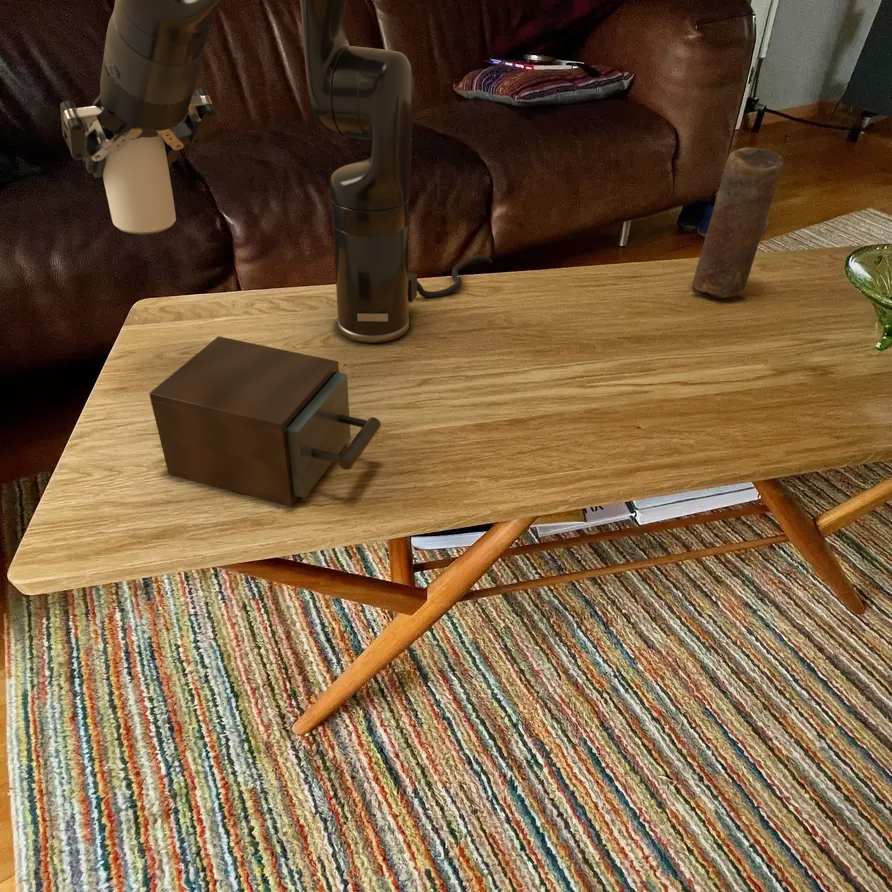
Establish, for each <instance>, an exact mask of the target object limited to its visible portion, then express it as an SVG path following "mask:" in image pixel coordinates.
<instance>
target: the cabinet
mask: <svg viewBox="0 0 892 892" xmlns="http://www.w3.org/2000/svg"><path fill="white" fill-rule="evenodd" d="M339 369H340V368H339V361H338V360H335V359H329V358H325V357H319V356H316V355H315V356H314V355H310V354H305V353H301V352H295V351H291V350H286V349H281V348H277V347H271V346H267V345H261V344H257V343H252V342H247V341H244V340H239V339H233V338H230V337H229V338H228V337H223V336H216V337H215V338H214V339H213V340H212V341H211V342H209V343H208V344H207V345H205V347H203V348H202V349H201V350H199V351H198V352H197V353H196V354H195V355H194V356H193V357H190V359H188V360H187V362H185V363H184V364H182V365H181V366H180V367H178V369H177V370H175V371H174V372H173V373H172V374H171V375H169V376H167V378H165V379H164V380H163V381H162V382H161V383H159V384H158V385H157V386H156V387H155V388H154V389H152V390H151V391H150V392H149V393H148V395H149V398H150V404H151V407H152V412H153V416H154V420H155V424H156V428H157V432H158V433H157V434H158V436H159V437H158V438H159V441H160V445H161V449H162V454H163V457H164V461H165V465H166V470H167V474H168V475H170V476H174V477H178V478H181V479H185V480H188V481H193V482H197V483H201V484H203V485H204V484H205V485H209V486H212V487H216V488H219V489H223V490H228V491H231V492H235V493H239V494H242V495H246V496H250V497H254V498H257V499H261V500H264V501H268V502H269V501H270V502H273V503H277V504H280V505H284V506H288V507H293V505H294V504H295V503H296V501H297V500H298V499H299V497H298V496H295V495H294V490H293V482H292V473H291V464H290V456H289V447H288V439H287V425H288V424H289V423H290V422H291V421H292V420H293V419H294V417H295V416H296V415H297V414H298V413H299V412H300V411H301V410H302V408H303V407H304V406H305V405H306V404H307V403H308V402H309V401H310V399H311V398H312V397H313V396H314V395H315V394H316V393H317V392H318V390H319V389H320V388H321V387H322V388H323V387H324V386H325V385H326V384H327V382H328V381H329V380H330V379H331V378H332V377H333V376H334V374H335V373H336V372H338V373H340V370H339Z"/></svg>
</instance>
